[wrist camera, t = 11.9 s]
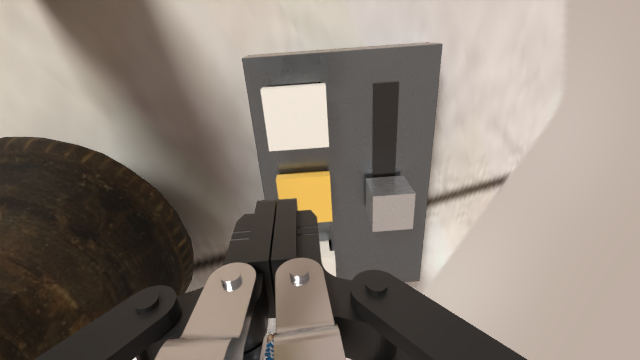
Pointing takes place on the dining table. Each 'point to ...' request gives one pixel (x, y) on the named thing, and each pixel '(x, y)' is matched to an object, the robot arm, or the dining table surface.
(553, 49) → the dining table surface
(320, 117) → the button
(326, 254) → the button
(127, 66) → the dining table surface
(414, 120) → the panel
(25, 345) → the ceramic pot
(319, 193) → the button mid
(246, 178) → the dining table surface
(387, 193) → the brushed metal cube
